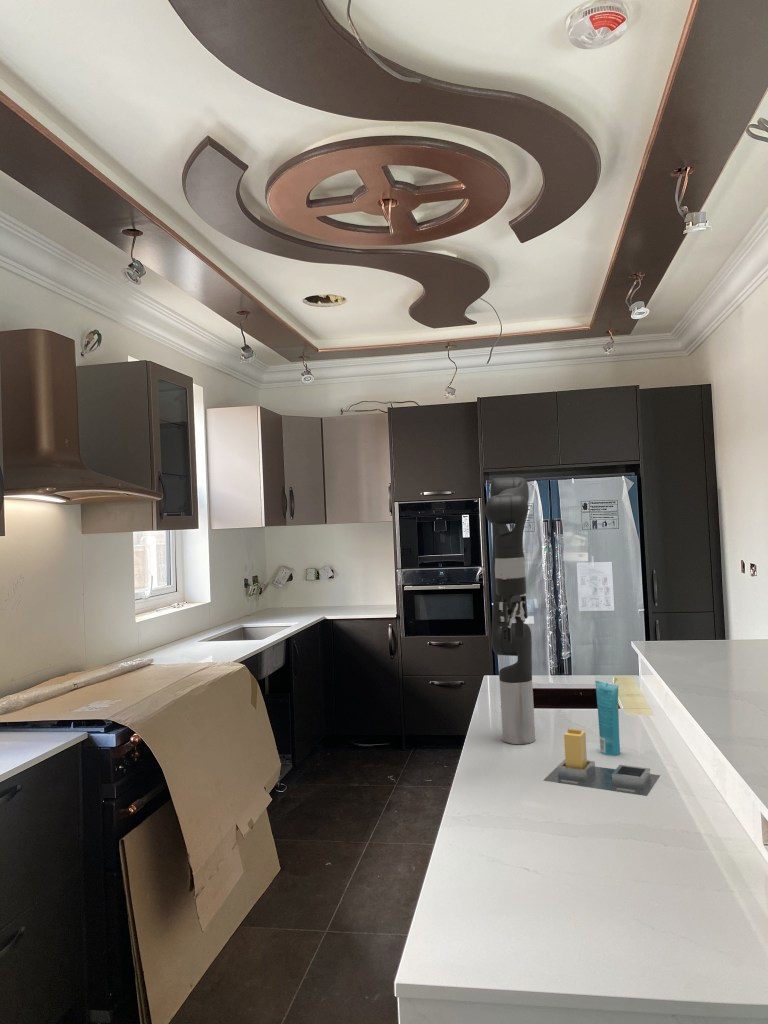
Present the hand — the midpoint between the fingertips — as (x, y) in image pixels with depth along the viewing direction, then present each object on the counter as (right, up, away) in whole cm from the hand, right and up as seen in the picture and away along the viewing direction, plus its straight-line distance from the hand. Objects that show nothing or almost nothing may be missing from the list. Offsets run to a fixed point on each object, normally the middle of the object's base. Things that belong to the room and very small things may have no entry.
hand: (513, 640), depth 188 cm
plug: (+14, -31, -7) cm, 35 cm away
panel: (+19, -32, -10) cm, 39 cm away
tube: (+27, -32, +8) cm, 42 cm away
